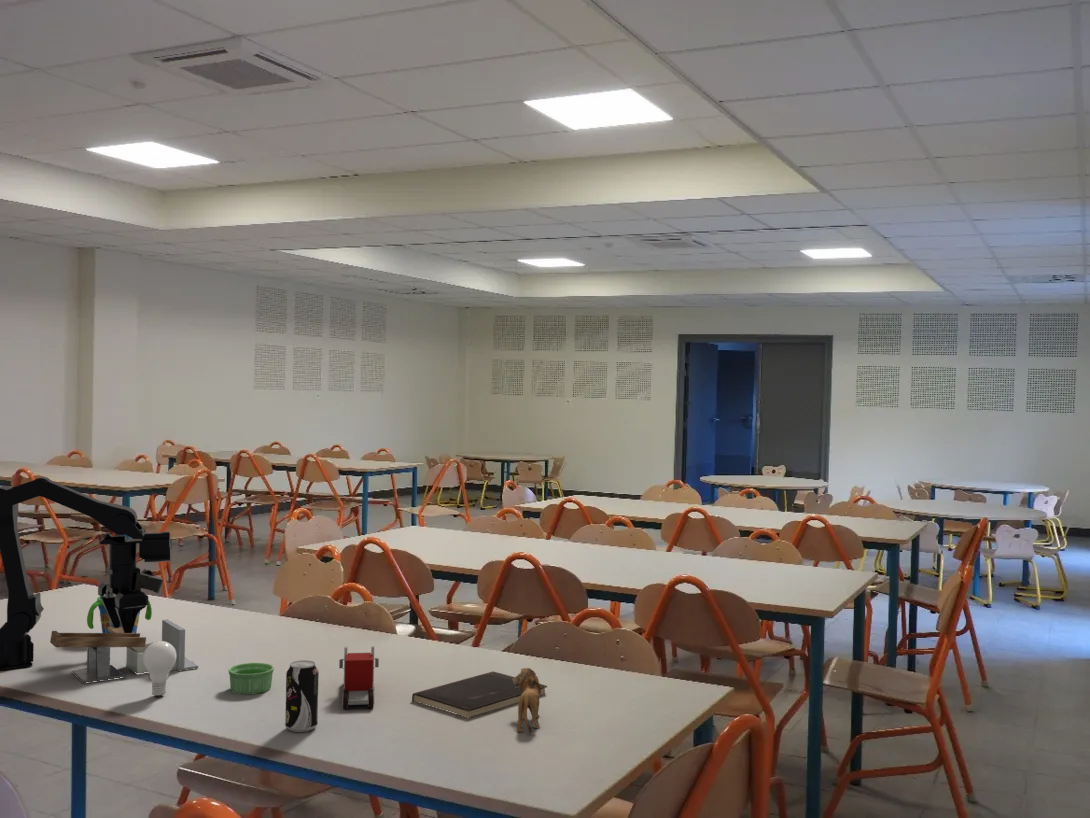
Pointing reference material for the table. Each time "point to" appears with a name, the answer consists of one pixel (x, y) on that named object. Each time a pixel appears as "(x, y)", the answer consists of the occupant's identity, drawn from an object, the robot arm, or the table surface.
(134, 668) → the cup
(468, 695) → the hardcover book
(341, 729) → the table surface
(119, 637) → the lever
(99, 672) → the fulcrum
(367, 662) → the toy truck
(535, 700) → the lion figurine
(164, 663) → the lightbulb
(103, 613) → the snack cup
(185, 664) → the backboard
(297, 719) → the beverage can
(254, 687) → the ramekin
